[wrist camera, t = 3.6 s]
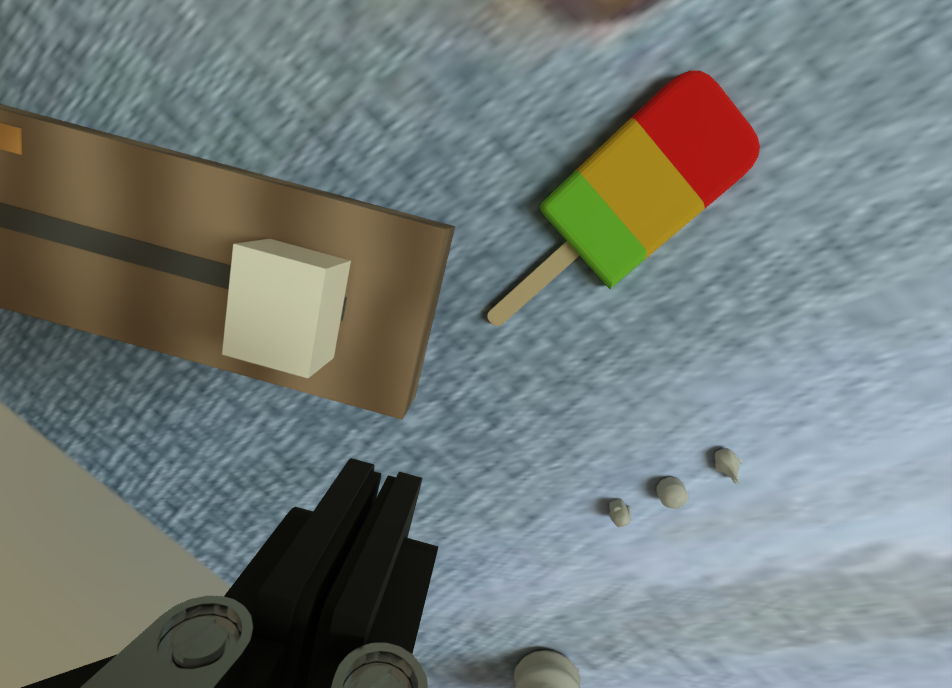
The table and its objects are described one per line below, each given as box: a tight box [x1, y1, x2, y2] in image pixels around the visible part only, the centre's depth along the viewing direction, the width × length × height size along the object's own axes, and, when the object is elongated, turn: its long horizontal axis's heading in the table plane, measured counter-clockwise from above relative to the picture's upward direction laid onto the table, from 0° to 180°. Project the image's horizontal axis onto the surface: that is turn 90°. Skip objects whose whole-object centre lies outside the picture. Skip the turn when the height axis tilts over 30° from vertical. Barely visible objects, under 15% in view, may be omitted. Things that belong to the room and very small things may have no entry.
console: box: [0, 104, 455, 419], centre depth 26 cm, size 28×10×3 cm, turn 76°
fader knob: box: [222, 239, 351, 378], centre depth 22 cm, size 4×5×3 cm
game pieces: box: [608, 448, 742, 527], centre depth 28 cm, size 8×2×2 cm, turn 118°
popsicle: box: [488, 71, 760, 326], centre depth 24 cm, size 6×15×2 cm, turn 134°
